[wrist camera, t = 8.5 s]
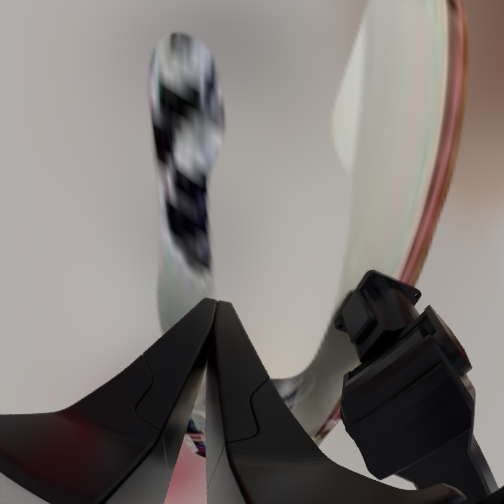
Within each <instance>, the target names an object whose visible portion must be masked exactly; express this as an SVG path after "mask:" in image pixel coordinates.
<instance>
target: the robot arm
mask: <svg viewBox="0 0 504 504" xmlns="http://www.w3.org/2000/svg"><path fill="white" fill-rule="evenodd" d="M372 275H374V277H372V278H371V276H372ZM416 294H417V295H416ZM415 295H416V296H415ZM420 297H421V292H420V291H419V290H418V289H416V288H414V287H412V286H410V285H407V284H405V283H403V282H401V281H398V280H396V279H394V278H392V277H389V276H387V275H385V274H382V273H380V272H378V271H375V270H370V271H369V272H368V273H367V274H366V276H365V278H364V279H363V281H362V282H361V284H360V286H359V287H358V289H357V290H355V292H354V293H353V295H352V296H351V298H350V299H349V301H348V302H347V304H346V305H345V307H344V308H343V310H342V313H341V315H340V316H339V318H338V319H337V321H336V322H335V326H336V329H338V330H340V331H344V332H347V333H348V334H349V337H350V340H351V343H352V344H354V345H355V348H356V351H357V354H358V357H359V360H360V362H362V364H361V365H359V366H358V367H357V368H355V369H354V370H353V371H351V372H350V371H349V372H348V373H346V374H345V375H344V379H343V389H342V398H341V403H340V406H341V407H340V413H341V419H342V421H343V424H344V425H345V430H346V432H347V433H348V434H349V435H350V437H351V438H352V439H353V440H354V442H355V443H356V445H357V447H358V448H359V450H360V452H361V454H362V456H363V459H364V461H365V464H366V467H367V469H368V471H369V472H370V473H371V474H372V475H374V476H375V477H376V478H377V479H379V480H382V479H384V478H387V477H389V476H391V475H393V474H394V475H396V476H398V477H401V478H403V479H405V480H407V481H409V482H412V483H413V484H414V486H415V487H416V489H417V490H404V489H399V488H395V487H392V486H389V485H386V484H384V483H381V482H379V481H376V480H373V479H370V478H368V477H366V476H363V475H361V474H358V473H356V472H354V471H351V470H349V469H347V468H345V467H342V466H340V465H338V464H336V463H335V462H333V461H332V460H331V459H329V458H328V457H327V456H326V455H325V454H324V453H322V451H321V450H320V449H319V448H318V447H317V445H316V444H315V443H314V442H313V440H312V439H311V438H310V436H309V435H308V434H307V433H306V431H305V430H304V429H303V427H302V426H301V425H300V424H299V422H298V421H297V420H296V418H295V417H294V416H293V414H292V413H291V411H290V410H289V409H288V407H287V406H286V404H285V403H284V401H283V400H282V398H281V396H280V395H279V393H278V391H277V390H276V388H275V386H274V384H273V382H272V380H271V379H269V378H270V377H269V375H268V373H267V371H266V369H265V368H264V366H263V364H262V362H261V360H260V358H259V356H258V354H257V352H256V350H255V348H254V346H253V345H252V343H251V341H250V339H249V337H248V335H247V333H246V331H245V329H244V327H243V325H242V323H241V321H240V319H239V317H238V315H237V313H236V311H235V309H234V307H233V305H232V303H230V302H225V301H218V303H217V300H215V299H210V298H204V299H203V300H202V301H200V302H199V303H198V304H197V305H196V306H195V307H194V308H193V309H192V310H190V311H189V312H188V313H187V314H186V315H185V316H184V317H183V318H182V319H180V320H179V321H178V322H177V323H176V324H175V325H174V326H173V327H172V328H171V329H169V330H168V331H167V332H166V333H165V334H164V335H163V336H162V337H161V338H159V339H158V340H157V341H156V342H155V343H154V344H153V345H152V346H151V347H149V348H148V349H147V350H146V351H145V352H144V353H143V355H140V356H139V357H138V358H137V359H136V360H135V361H134V362H133V363H131V364H130V365H129V366H128V367H127V368H125V369H124V370H123V371H122V372H121V373H119V374H118V375H116V376H115V377H114V378H112V379H111V380H110V381H108V382H107V383H105V384H104V385H102V386H101V387H99V388H98V389H96V390H95V391H93V392H92V393H90V394H89V395H87V396H85V397H84V398H82V399H81V400H79V401H78V402H76V403H75V404H73V405H71V406H70V407H68V408H65V409H63V410H60V411H56V412H50V413H36V414H15V415H13V414H9V415H0V504H163V503H164V500H165V497H166V494H167V491H168V487H169V482H170V481H171V477H172V474H173V471H174V467H175V464H176V461H177V458H178V455H179V451H180V448H181V445H182V442H183V439H184V435H185V432H186V429H187V426H188V423H189V419H190V416H191V413H192V410H193V407H194V404H195V400H196V397H197V394H198V391H199V388H200V385H201V382H202V378H203V375H204V372H205V368H206V364H207V371H206V478H207V479H206V481H207V504H504V486H502V487H501V488H498V486H497V484H496V481H495V479H494V477H493V474H492V472H491V470H490V468H489V466H488V464H487V461H486V459H485V457H484V455H483V453H482V451H481V449H480V447H479V445H478V443H477V441H476V439H475V437H474V435H473V429H474V416H475V389H474V387H473V385H472V383H471V382H470V380H469V378H468V377H467V375H466V373H467V372H468V371H470V370H471V369H472V366H471V363H470V361H469V359H468V356H467V354H466V352H465V350H464V348H463V347H462V345H461V344H460V342H459V341H458V339H457V338H456V336H455V335H454V334H453V332H452V331H451V329H450V328H449V327H448V326H447V325H446V323H445V322H444V321H443V320H442V319H441V317H440V316H439V315H438V314H437V313H436V312H435V310H434V309H433V308H432V307H431V306H430V305H428V306H427V307H426V308H425V311H424V312H423V313H422V314H421V315H419V313H418V312H417V310H416V309H415V307H414V306H415V304H416V303H417V301H418V300H419V298H420ZM216 308H217V309H216ZM339 324H342V325H339ZM211 336H212V337H211ZM210 342H211V343H210ZM209 348H210V349H209ZM208 354H209V355H208ZM207 360H208V361H207Z"/></svg>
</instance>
